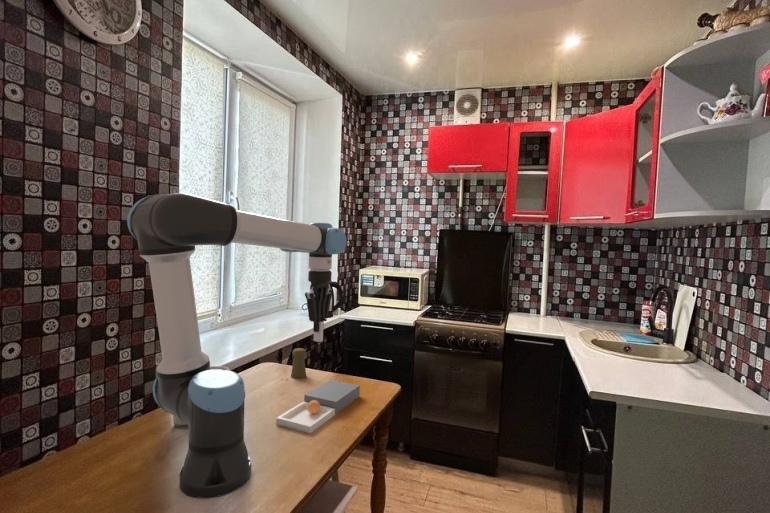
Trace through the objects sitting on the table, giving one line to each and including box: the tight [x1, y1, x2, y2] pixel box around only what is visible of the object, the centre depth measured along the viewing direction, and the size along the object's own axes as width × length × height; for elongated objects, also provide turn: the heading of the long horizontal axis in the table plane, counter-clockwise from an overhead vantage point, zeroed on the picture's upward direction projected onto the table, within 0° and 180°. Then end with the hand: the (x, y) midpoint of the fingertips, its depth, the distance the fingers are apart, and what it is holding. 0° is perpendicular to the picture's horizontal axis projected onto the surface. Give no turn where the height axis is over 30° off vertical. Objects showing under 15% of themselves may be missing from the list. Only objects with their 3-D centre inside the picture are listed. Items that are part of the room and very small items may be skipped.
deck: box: [303, 379, 361, 415], centre depth 136 cm, size 16×12×4 cm
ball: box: [307, 400, 320, 414], centre depth 126 cm, size 4×4×4 cm
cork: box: [290, 347, 307, 380], centre depth 160 cm, size 6×6×11 cm
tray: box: [275, 400, 336, 434], centre depth 122 cm, size 14×12×2 cm
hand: (318, 340), depth 133 cm, fingers closed
